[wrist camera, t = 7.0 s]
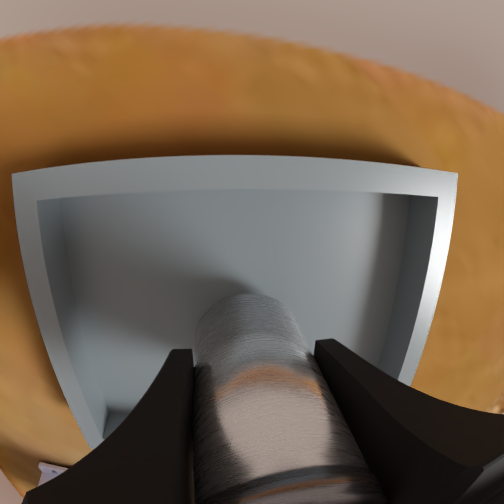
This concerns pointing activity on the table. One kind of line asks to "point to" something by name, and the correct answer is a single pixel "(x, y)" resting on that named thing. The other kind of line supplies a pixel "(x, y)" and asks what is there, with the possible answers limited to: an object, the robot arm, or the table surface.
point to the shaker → (268, 414)
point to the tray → (225, 260)
